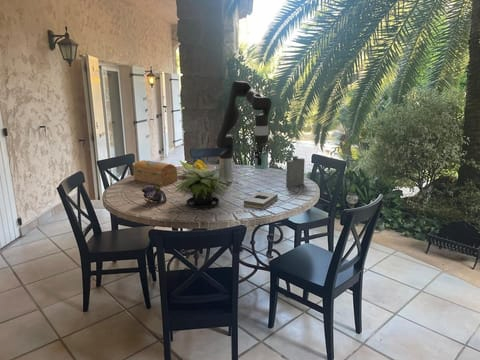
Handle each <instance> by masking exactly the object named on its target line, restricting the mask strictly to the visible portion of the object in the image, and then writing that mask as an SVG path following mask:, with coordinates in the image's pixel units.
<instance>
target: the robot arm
mask: <svg viewBox="0 0 480 360" xmlns="http://www.w3.org/2000/svg"><path fill="white" fill-rule="evenodd" d="M237 97H240V98H244V97H245V99H246V100H247V102H248V103H250V105H251V108H252V109H253V110H255V111H262V113H260V114H256V115H255V117H254V143H256V147H254V148H253V151H254V159H255V158H257V165H261V157H262V155H263V154H268V153H269V144H267V143H269V116H270V115H269V114H270V111H271V109H272V108H271V107H272V100H271V98H270V97H269V96H262V95H261V94H260V93H259V92H258V91H255V89H254V88H253V86H252V85H251V84H250V83H249V82H248V81H243V80H234V81H233V82H232V84H231V88H230V93H229V97H228V102H227V106H226V110H225V112H224V116H223V120H222V124H221V126H220V130H219V132H218V135H217V138H216V142H215V143H216V146H217V148H218V149H225V150H223V151H222V152H221V153H219V157H218V158H219V160H218V161H219V168H218V169H220V168H224V169H220V170H218V176H219V177H221V178H224V179H223V180H224V182H225V181H226V183H225V184H230V183H233V182H234V174H233V173H234V170H233V169H234V167H233V165H234V164H233V162H234V160H233V156H234V138H233V136H232V135H231V134H229V132H230V131H231V130H232V129H234V127H235V126H236V125H237V123H238V120H239V118H240V110H239V108H238V105H237V101H236V100H237ZM225 179H226V180H225ZM222 182H223V181H222ZM222 182H221V181H220V182H219V183H222ZM227 182H228V183H227Z"/></svg>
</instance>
